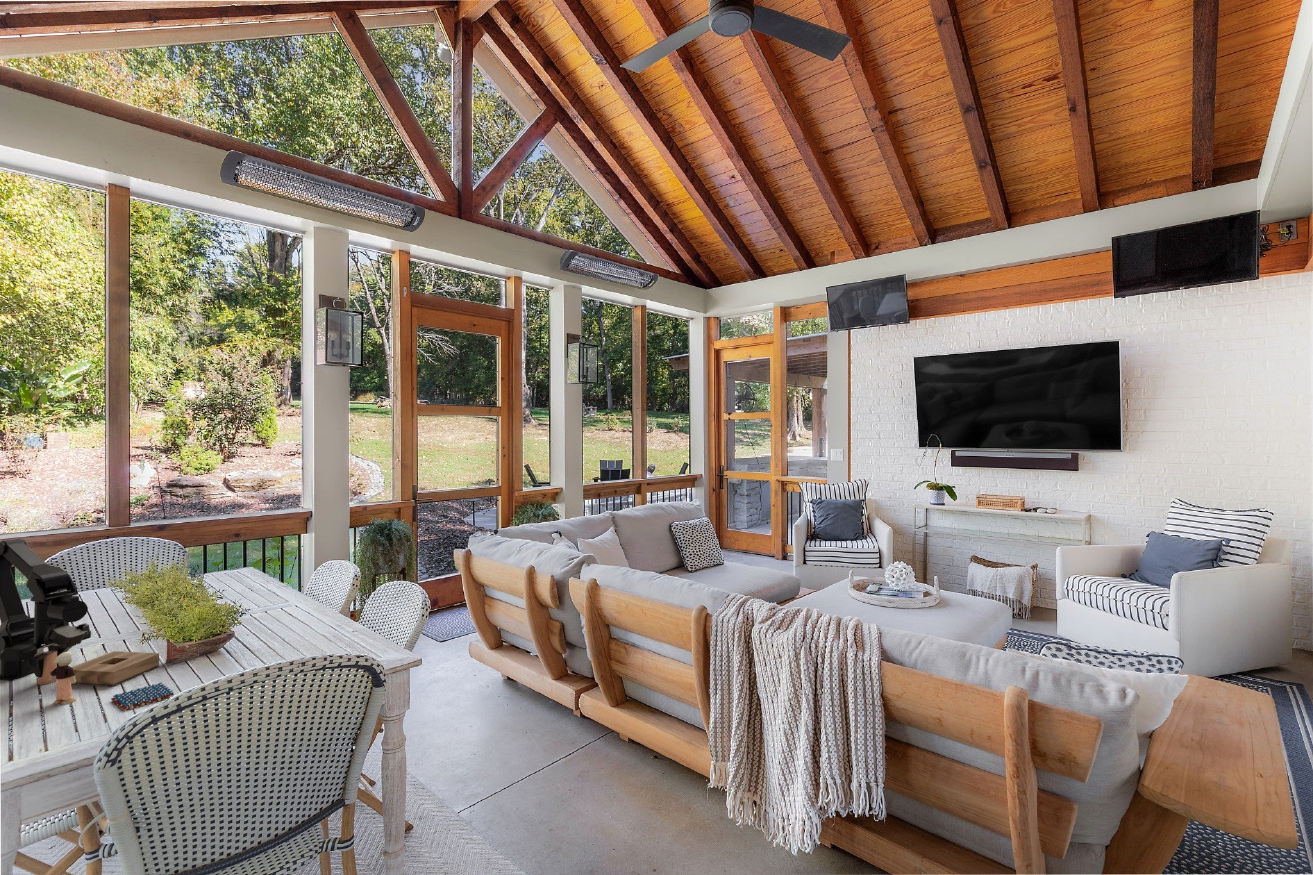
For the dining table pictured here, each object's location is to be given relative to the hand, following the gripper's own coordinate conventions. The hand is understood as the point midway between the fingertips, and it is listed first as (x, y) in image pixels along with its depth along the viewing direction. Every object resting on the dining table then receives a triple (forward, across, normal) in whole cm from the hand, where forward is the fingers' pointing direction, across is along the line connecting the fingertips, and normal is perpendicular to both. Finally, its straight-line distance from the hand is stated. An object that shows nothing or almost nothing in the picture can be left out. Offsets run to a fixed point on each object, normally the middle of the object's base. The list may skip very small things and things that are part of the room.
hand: (47, 674), depth 162 cm
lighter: (+2, +19, -22) cm, 29 cm away
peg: (+2, 0, 0) cm, 2 cm away
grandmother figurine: (+2, -10, -16) cm, 19 cm away
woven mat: (+3, -7, -34) cm, 35 cm away
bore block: (+2, +6, -13) cm, 14 cm away
